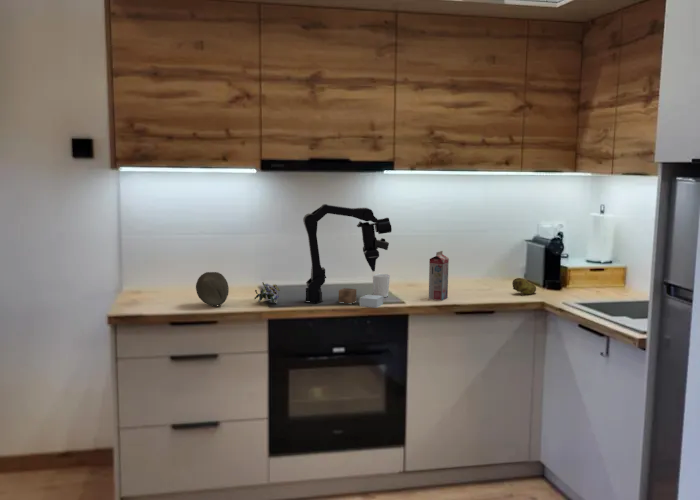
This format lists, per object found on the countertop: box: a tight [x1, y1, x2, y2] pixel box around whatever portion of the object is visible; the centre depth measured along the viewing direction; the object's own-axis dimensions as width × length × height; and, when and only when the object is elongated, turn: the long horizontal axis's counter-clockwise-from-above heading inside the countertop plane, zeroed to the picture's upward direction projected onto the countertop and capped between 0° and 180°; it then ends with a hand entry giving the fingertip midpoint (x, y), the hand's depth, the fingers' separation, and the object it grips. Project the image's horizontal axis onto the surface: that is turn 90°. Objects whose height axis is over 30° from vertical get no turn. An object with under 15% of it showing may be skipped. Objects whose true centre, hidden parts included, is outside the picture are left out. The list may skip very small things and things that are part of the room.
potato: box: [512, 277, 537, 295], centre depth 318 cm, size 8×13×8 cm, turn 98°
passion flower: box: [253, 281, 281, 304], centre depth 292 cm, size 11×11×12 cm
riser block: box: [359, 294, 384, 309], centre depth 291 cm, size 8×8×4 cm
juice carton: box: [428, 250, 450, 302], centre depth 305 cm, size 7×7×22 cm
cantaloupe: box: [195, 271, 230, 307], centre depth 286 cm, size 14×14×15 cm
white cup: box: [372, 273, 390, 298], centre depth 310 cm, size 8×8×10 cm
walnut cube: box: [338, 287, 357, 304], centre depth 295 cm, size 6×6×6 cm
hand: (372, 269), depth 300 cm, fingers open, 9 cm apart
